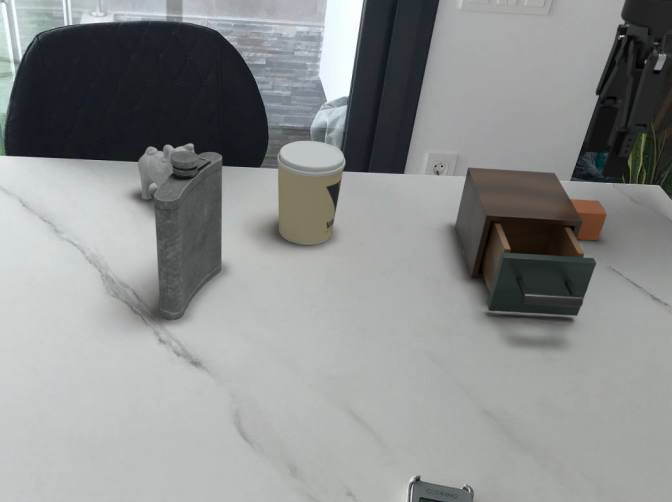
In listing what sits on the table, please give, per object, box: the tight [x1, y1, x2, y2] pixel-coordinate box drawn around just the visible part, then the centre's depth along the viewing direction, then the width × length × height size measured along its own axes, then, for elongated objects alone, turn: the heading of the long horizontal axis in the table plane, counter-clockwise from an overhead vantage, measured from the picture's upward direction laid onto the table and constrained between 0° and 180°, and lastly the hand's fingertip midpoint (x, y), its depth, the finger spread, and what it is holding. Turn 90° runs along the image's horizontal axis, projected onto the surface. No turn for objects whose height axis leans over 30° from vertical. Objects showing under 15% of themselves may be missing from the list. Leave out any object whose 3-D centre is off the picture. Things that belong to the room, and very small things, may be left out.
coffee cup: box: [276, 140, 346, 246], centre depth 109 cm, size 9×9×12 cm
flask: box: [153, 151, 223, 321], centre depth 94 cm, size 4×14×18 cm, turn 160°
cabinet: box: [454, 167, 583, 280], centre depth 109 cm, size 15×13×10 cm
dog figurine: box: [137, 143, 195, 201], centre depth 114 cm, size 5×13×11 cm, turn 44°
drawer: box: [480, 221, 597, 317], centre depth 99 cm, size 18×11×8 cm, turn 179°
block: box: [570, 198, 608, 241], centre depth 117 cm, size 4×4×4 cm
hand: (602, 163), depth 111 cm, fingers open, 8 cm apart
